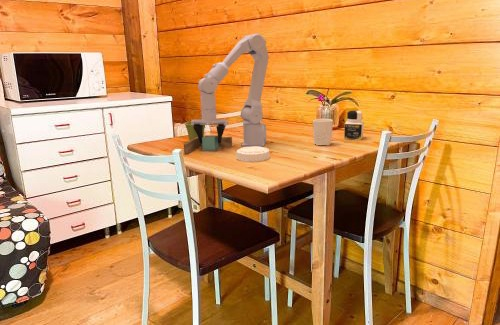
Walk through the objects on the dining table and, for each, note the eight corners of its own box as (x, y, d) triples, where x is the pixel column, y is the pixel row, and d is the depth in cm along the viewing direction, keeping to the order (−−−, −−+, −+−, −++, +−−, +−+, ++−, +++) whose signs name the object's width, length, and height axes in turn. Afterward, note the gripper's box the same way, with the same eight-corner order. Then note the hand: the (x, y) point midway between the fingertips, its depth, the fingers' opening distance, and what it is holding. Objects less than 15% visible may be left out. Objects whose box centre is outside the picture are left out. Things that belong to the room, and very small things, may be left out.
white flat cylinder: (235, 163, 132) (234, 153, 131) (237, 154, 143) (237, 145, 142) (269, 162, 131) (269, 152, 130) (269, 154, 143) (269, 145, 142)
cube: (218, 147, 155) (217, 135, 153) (214, 150, 150) (214, 137, 149) (206, 147, 156) (206, 135, 154) (202, 150, 151) (202, 137, 150)
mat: (221, 147, 156) (221, 146, 156) (216, 151, 149) (216, 150, 149) (205, 147, 157) (205, 146, 157) (199, 151, 150) (199, 150, 150)
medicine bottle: (344, 139, 163) (344, 111, 160) (346, 136, 170) (347, 109, 167) (361, 140, 161) (362, 112, 158) (363, 137, 167) (364, 109, 164)
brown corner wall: (232, 146, 157) (231, 136, 156) (222, 155, 142) (221, 144, 141) (197, 145, 160) (197, 136, 159) (184, 154, 146) (183, 144, 145)
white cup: (334, 142, 157) (334, 118, 155) (329, 146, 151) (330, 121, 148) (315, 141, 161) (316, 118, 158) (310, 145, 154) (310, 121, 151)
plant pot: (203, 144, 163) (202, 124, 160) (182, 144, 165) (181, 124, 162) (209, 140, 172) (208, 121, 169) (190, 139, 173) (188, 121, 171)
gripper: (187, 110, 147) (189, 144, 150) (223, 110, 144) (225, 145, 147) (193, 108, 153) (196, 141, 157) (228, 107, 150) (229, 141, 154)
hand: (210, 142), depth 152 cm, fingers open, 7 cm apart
